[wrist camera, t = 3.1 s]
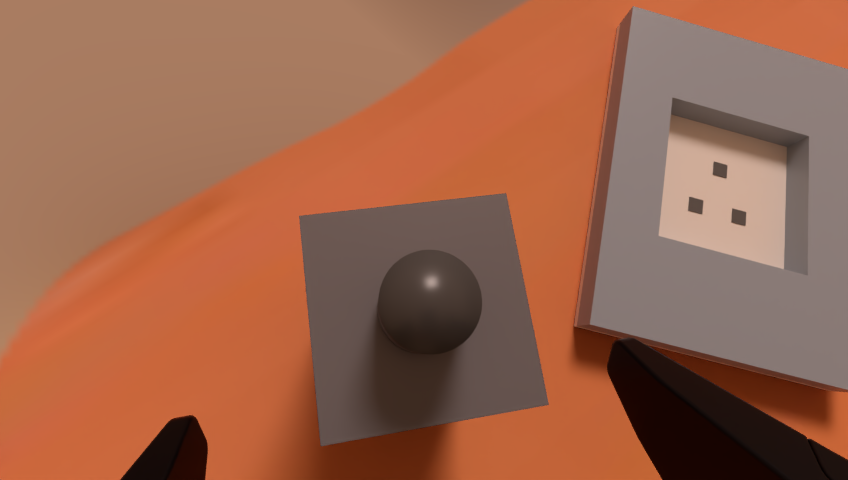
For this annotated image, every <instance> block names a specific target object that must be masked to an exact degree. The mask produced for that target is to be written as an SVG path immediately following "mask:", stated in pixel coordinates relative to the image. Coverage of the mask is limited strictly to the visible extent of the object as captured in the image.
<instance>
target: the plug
mask: <svg viewBox="0 0 848 480" xmlns="http://www.w3.org/2000/svg"><path fill="white" fill-rule="evenodd" d="M299 219H300V230H301V241H302V251H303V262H304V273H305V284H306V294H307V305H308V316H309V327H310V337H311V348H312V359H313V369H314V380H315V391H316V402H317V412H318V423H319V434H320V444H321V446H325V445H331V444H336V443H342V442H347V441H353V440H358V439H364V438H369V437H375V436H380V435H385V434H391V433H396V432H402V431H407V430H413V429H418V428H424V427H429V426H435V425H440V424H446V423H451V422H457V421H462V420H468V419H473V418H479V417H484V416H490V415H495V414H501V413H506V412H512V411H517V410H523V409H528V408H533V407H539V406H544V405H549V404H548V399H547V394H546V389H545V384H544V379H543V374H542V369H541V364H540V359H539V354H538V349H537V344H536V339H535V334H534V329H533V324H532V319H531V314H530V309H529V304H528V299H527V295H526V290H525V285H524V280H523V275H522V270H521V265H520V260H519V255H518V250H517V245H516V240H515V235H514V230H513V225H512V220H511V215H510V210H509V205H508V200H507V195H506V193H505V194H495V195H486V196H477V197H468V198H459V199H450V200H441V201H432V202H422V203H413V204H404V205H395V206H386V207H377V208H368V209H358V210H349V211H340V212H331V213H322V214H313V215H304V216H299Z"/></svg>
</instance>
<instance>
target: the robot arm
mask: <svg viewBox="0 0 848 480" xmlns="http://www.w3.org/2000/svg"><path fill="white" fill-rule="evenodd" d="M607 370H608V374H609V377H610V379H611V381H612V383H613V386H614V388H615V390H616V392H617V394H618V396H619V398H620V401H621V403H622V405H623V407H624V409H625V411H626V414H627V416H628V418H629V420H630V422H631V424H632V427H633V429H634V431H635V433H636V435H637V437H638V439H639V440H640V442H641V444H642V446H643V447H644V449H645V451H646V453H647V454H648V456H649V458H650V459H651V461H652V463H653V464H654V466H655V468H656V470H657V471H658V473H659V475H660V476H661V478H662V480H848V460H847V459H845V458H844V457H842V456H840V455H838V454H836V453H835V452H833V451H831V450H829V449H827V448H826V447H824V446H822V445H820V444H819V443H817V442H815V441H813V440H812V439H807V437H806V436H804V435H803V434H801V433H799V432H798V431H796V430H794V429H792V428H791V427H789V426H787V425H785V424H784V423H782V422H780V421H778V420H777V419H775V418H773V417H771V416H770V415H768V414H766V413H764V412H763V411H761V410H759V409H757V408H756V407H754V406H752V405H750V404H749V403H747V402H745V401H743V400H742V399H740V398H738V397H736V396H735V395H733V394H731V393H729V392H728V391H726V390H724V389H722V388H721V387H719V386H717V385H715V384H714V383H712V382H710V381H708V380H707V379H705V378H703V377H701V376H700V375H698V374H696V373H694V372H693V371H691V370H689V369H687V368H686V367H684V366H682V365H680V364H679V363H677V362H675V361H673V360H672V359H670V358H668V357H666V356H665V355H663V354H661V353H660V352H658V351H656V350H654V349H653V348H651V347H649V346H647V345H646V344H644V343H642V342H640V341H639V340H637V339H635V338H631V337H629V338H623V339H617V340H615V341H614V342H613V344H612V348H611V352H610V356H609V360H608V363H607ZM207 454H208V446H207V440H206V438H205V436H204V434H203V431H202V429H201V427H200V425H199V423H198V421H197V419H196V417H194V416H193V415H189V416H183V417H178V418H174V419H172V420H170V421H169V422H168V423H167V424H166V425H165V426H164V428H163V429H162V430H161V431H160V433H159V434H158V435H157V436H156V437H155V439H154V440H153V441H152V442H151V443H150V445H149V446H148V447H147V448H146V449H145V451H144V452H143V453H142V454H141V455H140V457H139V458H138V459H137V460H136V461H135V463H134V464H133V465H132V466H131V467H130V469H129V470H128V471H127V472H126V473H125V475H124V476H123V477H122V478H121V479H120V480H205V475H206V464H207Z"/></svg>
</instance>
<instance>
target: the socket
mask: <svg viewBox="0 0 848 480" xmlns="http://www.w3.org/2000/svg"><path fill="white" fill-rule="evenodd" d="M574 327H578V328H582V329H586V330H590V331H594V332H598V333H602V334H606V335H610V336H614V337H618V338H622V339H623V338H629V337H631V338H635V339H637V340H639V341H640V342H642V343H644V344H646V345H649V346H653V347H657V348H661V349H665V350H669V351H673V352H677V353H681V354H685V355H689V356H693V357H697V358H701V359H705V360H709V361H713V362H716V363H720V364H724V365H728V366H732V367H736V368H740V369H744V370H748V371H752V372H756V373H760V374H764V375H768V376H772V377H776V378H780V379H784V380H788V381H792V382H795V383H799V384H803V385H807V386H811V387H815V388H819V389H823V390H827V391H839V392H848V69H845V68H842V67H838V66H835V65H832V64H828V63H825V62H821V61H818V60H815V59H811V58H808V57H804V56H801V55H798V54H794V53H791V52H787V51H784V50H780V49H777V48H774V47H770V46H767V45H763V44H760V43H757V42H753V41H750V40H746V39H743V38H740V37H736V36H733V35H729V34H726V33H723V32H719V31H716V30H712V29H709V28H706V27H702V26H699V25H695V24H692V23H688V22H685V21H682V20H678V19H675V18H671V17H668V16H665V15H661V14H658V13H654V12H651V11H648V10H644V9H641V8H637V7H634V6H633V7H632V8H631V10H630V11H629V12H628V14H627V15H626V16H625V18H624V19H623V20H622V22H621V23H620V24H619V26H618V27H617V33H616V39H615V46H614V53H613V60H612V67H611V74H610V81H609V88H608V95H607V101H606V108H605V115H604V122H603V129H602V136H601V143H600V150H599V157H598V163H597V170H596V177H595V184H594V191H593V198H592V205H591V212H590V218H589V225H588V232H587V239H586V246H585V253H584V260H583V267H582V274H581V280H580V287H579V294H578V301H577V308H576V315H575V322H574Z"/></svg>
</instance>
